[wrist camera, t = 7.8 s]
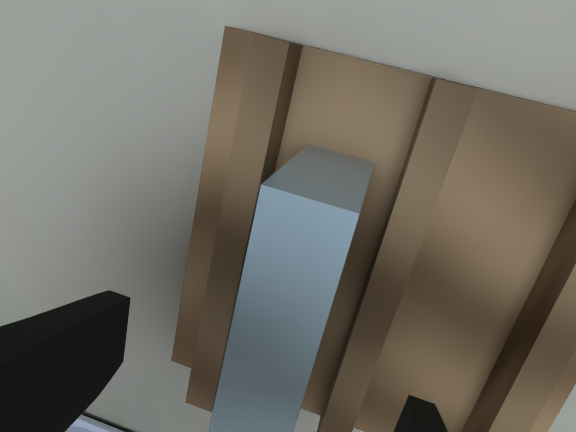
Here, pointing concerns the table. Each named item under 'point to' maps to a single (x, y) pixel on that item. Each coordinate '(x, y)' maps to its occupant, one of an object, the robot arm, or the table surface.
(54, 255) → the table surface
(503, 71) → the table surface
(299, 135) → the rack
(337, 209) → the tile
